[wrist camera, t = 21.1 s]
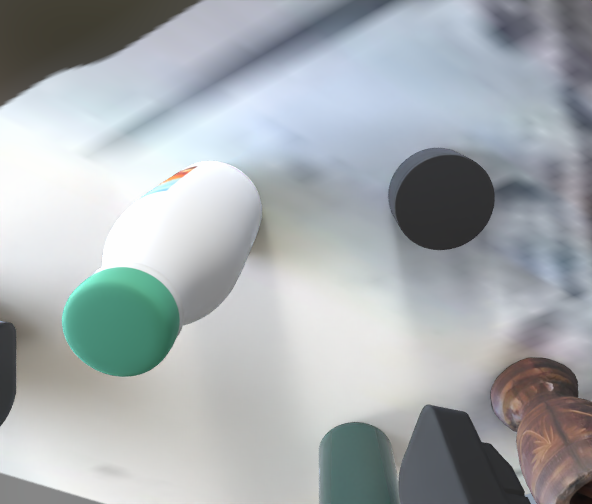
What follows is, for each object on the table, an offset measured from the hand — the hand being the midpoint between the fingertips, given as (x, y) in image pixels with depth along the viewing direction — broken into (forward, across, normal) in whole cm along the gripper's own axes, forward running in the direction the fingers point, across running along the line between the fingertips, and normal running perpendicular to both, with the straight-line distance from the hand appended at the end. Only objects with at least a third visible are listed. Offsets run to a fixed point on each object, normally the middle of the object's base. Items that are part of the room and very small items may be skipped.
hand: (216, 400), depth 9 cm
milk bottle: (+29, +5, +5) cm, 30 cm away
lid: (+29, -12, 0) cm, 31 cm away
